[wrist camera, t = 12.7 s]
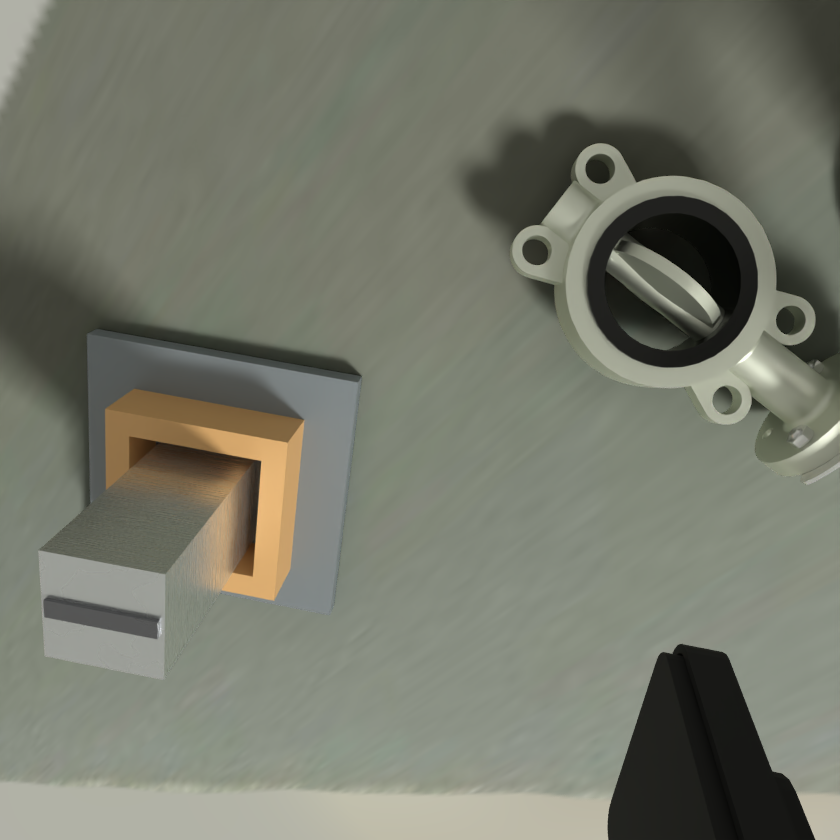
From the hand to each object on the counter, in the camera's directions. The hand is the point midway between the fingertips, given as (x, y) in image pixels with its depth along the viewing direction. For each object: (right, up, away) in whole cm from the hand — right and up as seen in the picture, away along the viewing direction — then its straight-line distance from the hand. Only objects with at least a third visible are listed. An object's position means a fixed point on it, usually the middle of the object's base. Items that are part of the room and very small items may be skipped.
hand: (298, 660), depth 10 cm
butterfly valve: (+14, +9, +26) cm, 31 cm away
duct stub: (-9, 0, +31) cm, 32 cm away
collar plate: (-9, 0, +32) cm, 33 cm away
